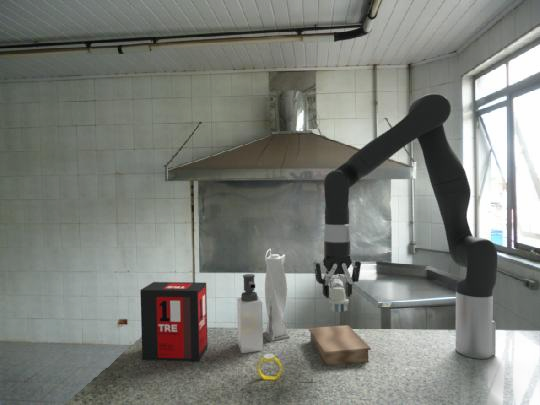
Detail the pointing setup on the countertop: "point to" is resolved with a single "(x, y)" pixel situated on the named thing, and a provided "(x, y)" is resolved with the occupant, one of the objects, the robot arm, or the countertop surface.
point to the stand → (339, 345)
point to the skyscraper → (275, 297)
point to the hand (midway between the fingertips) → (337, 296)
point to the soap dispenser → (249, 318)
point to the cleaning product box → (174, 321)
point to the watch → (269, 358)
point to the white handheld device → (338, 296)
